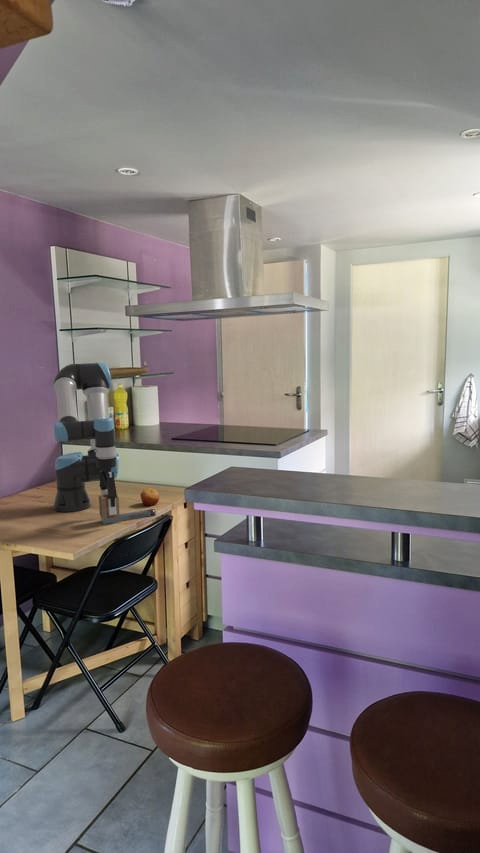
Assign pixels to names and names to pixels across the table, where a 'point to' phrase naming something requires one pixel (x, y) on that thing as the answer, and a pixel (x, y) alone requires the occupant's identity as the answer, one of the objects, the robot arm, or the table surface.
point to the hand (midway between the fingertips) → (109, 510)
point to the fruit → (149, 496)
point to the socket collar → (107, 506)
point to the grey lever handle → (129, 516)
